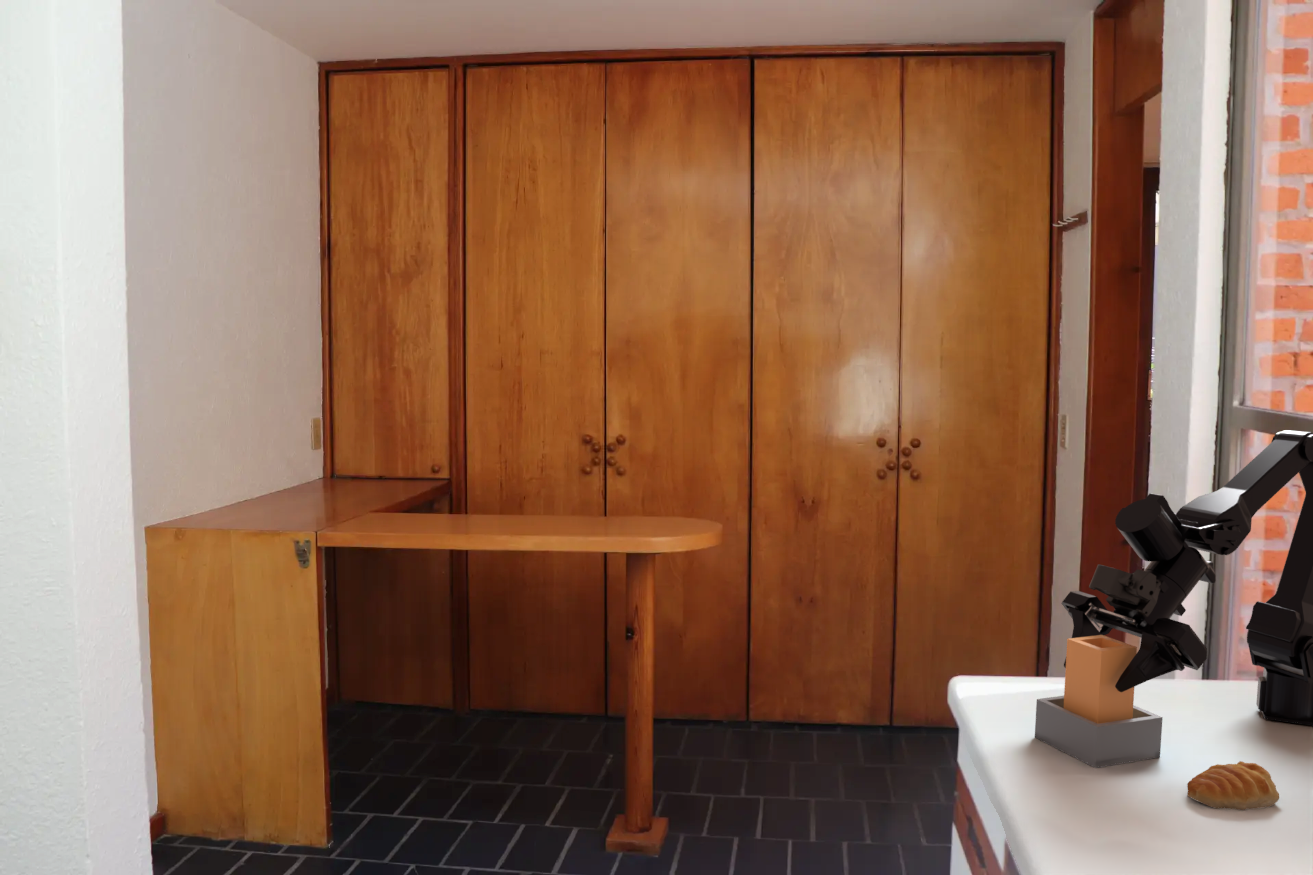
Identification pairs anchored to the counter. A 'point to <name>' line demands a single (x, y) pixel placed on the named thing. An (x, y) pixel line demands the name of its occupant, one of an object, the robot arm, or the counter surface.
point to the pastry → (1234, 787)
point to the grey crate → (1098, 734)
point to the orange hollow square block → (1098, 678)
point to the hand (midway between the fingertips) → (1091, 678)
